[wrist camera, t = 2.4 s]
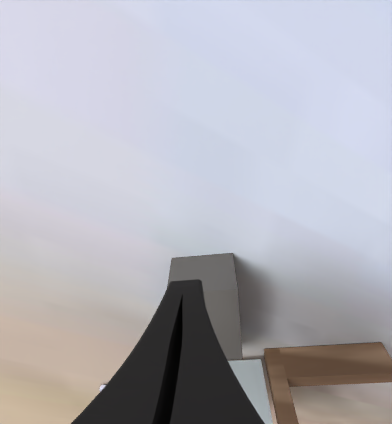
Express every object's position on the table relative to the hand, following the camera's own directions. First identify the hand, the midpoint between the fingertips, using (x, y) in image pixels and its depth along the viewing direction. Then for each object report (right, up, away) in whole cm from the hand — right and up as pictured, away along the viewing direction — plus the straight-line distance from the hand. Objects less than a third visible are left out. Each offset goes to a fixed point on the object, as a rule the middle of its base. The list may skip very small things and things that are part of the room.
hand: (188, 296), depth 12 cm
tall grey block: (+1, -4, +13) cm, 14 cm away
